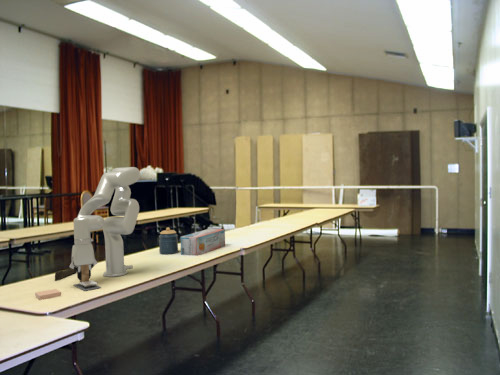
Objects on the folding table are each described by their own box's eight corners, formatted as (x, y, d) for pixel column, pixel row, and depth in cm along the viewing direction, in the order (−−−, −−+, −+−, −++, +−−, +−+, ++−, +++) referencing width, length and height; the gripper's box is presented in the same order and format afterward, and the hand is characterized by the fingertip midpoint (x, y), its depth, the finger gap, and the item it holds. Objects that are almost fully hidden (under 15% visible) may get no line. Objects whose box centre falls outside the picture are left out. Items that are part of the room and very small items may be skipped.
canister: (181, 251, 309) (180, 226, 309) (173, 254, 297) (172, 228, 296) (164, 251, 313) (163, 226, 312) (156, 254, 300) (155, 228, 300)
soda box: (209, 245, 333) (209, 228, 333) (226, 246, 328) (225, 228, 327) (180, 255, 296) (179, 235, 296) (198, 256, 290) (197, 236, 290)
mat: (89, 282, 224) (89, 281, 224) (101, 288, 212) (101, 287, 212) (73, 285, 219) (73, 284, 219) (84, 291, 207) (84, 290, 207)
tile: (55, 288, 206) (60, 291, 200) (56, 293, 206) (61, 296, 200) (35, 292, 201) (39, 295, 194) (35, 297, 201) (39, 300, 194)
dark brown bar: (71, 273, 249) (70, 265, 249) (77, 273, 248) (77, 265, 248) (50, 281, 231) (49, 272, 230) (57, 281, 230) (56, 272, 230)
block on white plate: (89, 280, 222) (88, 262, 222) (97, 284, 213) (96, 265, 213) (77, 282, 218) (76, 264, 218) (85, 286, 209) (84, 267, 209)
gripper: (96, 239, 226) (97, 274, 227) (62, 243, 216) (64, 280, 216) (101, 240, 220) (103, 277, 221) (67, 245, 210) (69, 283, 211)
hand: (84, 278), depth 219 cm, fingers closed on block on white plate, 3 cm apart
